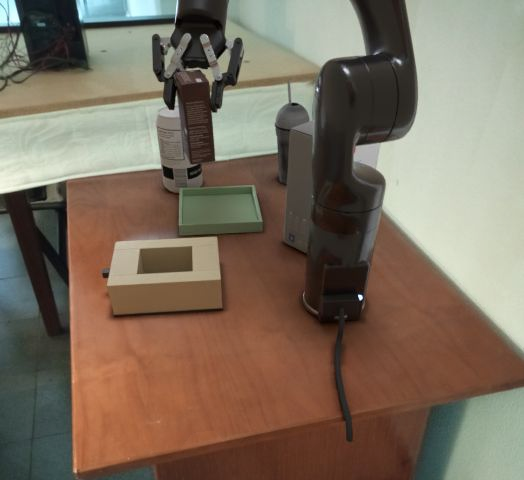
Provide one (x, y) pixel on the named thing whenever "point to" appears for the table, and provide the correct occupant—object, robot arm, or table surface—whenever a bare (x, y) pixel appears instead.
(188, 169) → the supplement can
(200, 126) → the box
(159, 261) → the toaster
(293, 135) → the hard drive box
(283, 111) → the beverage cup
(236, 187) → the tray
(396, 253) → the table surface
